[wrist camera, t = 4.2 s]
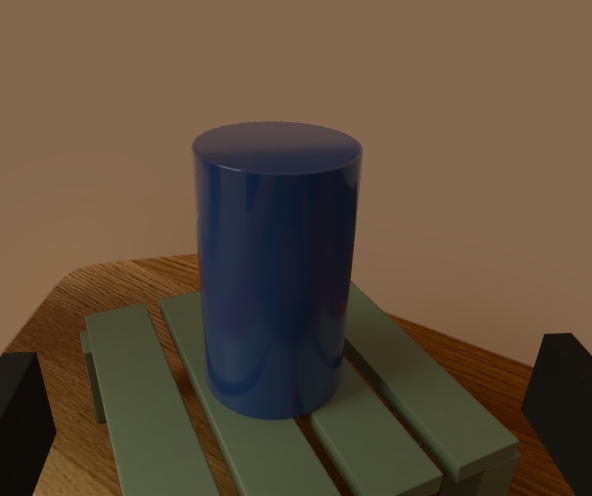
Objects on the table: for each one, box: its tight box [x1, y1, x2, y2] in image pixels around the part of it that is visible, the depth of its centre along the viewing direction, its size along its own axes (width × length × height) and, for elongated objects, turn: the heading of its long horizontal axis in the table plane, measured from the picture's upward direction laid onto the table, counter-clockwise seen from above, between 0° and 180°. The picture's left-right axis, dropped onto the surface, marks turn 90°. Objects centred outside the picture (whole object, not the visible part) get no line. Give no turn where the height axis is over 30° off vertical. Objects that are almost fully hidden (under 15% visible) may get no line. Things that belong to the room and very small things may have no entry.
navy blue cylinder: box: [192, 122, 363, 420], centre depth 22 cm, size 6×6×11 cm
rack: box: [79, 280, 521, 496], centre depth 26 cm, size 16×16×6 cm
